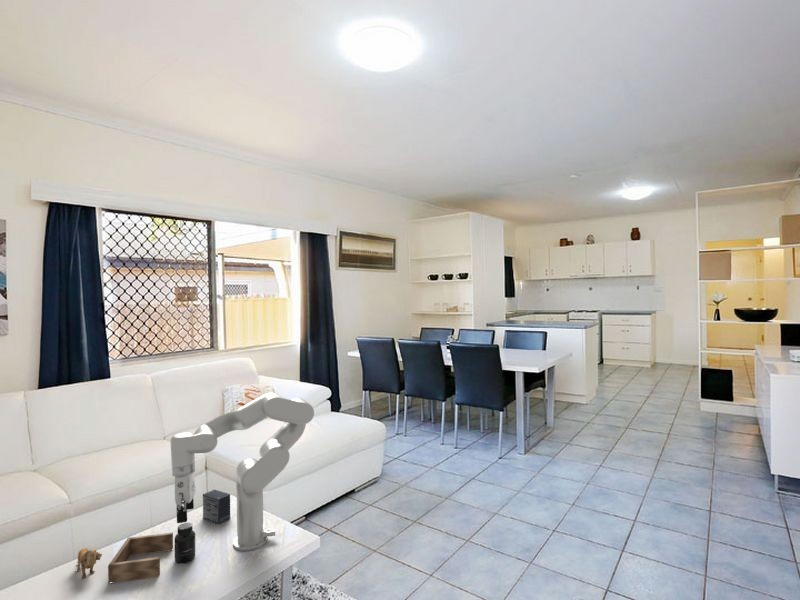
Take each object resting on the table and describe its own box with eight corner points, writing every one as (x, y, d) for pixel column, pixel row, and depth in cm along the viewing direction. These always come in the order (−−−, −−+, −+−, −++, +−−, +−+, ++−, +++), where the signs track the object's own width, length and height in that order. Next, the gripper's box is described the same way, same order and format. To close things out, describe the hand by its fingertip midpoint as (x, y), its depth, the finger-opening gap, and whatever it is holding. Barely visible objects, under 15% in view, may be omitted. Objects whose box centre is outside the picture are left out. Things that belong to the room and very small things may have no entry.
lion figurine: (104, 574, 151) (103, 548, 151) (86, 582, 147) (85, 555, 147) (85, 560, 159) (85, 535, 159) (68, 568, 155) (67, 542, 155)
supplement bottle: (187, 565, 155) (186, 531, 155) (170, 563, 157) (169, 529, 157) (199, 554, 162) (199, 521, 162) (183, 552, 164) (182, 520, 163)
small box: (231, 518, 189) (231, 493, 189) (218, 524, 183) (218, 499, 183) (215, 512, 194) (215, 488, 194) (202, 518, 189) (201, 494, 189)
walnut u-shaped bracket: (173, 548, 166) (172, 532, 166) (158, 576, 149) (158, 558, 149) (128, 554, 163) (128, 537, 163) (108, 583, 146) (108, 565, 146)
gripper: (189, 476, 152) (191, 526, 152) (200, 458, 168) (202, 503, 169) (165, 479, 150) (167, 529, 150) (178, 460, 167) (180, 505, 167)
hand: (185, 515), depth 159 cm, fingers open, 9 cm apart
